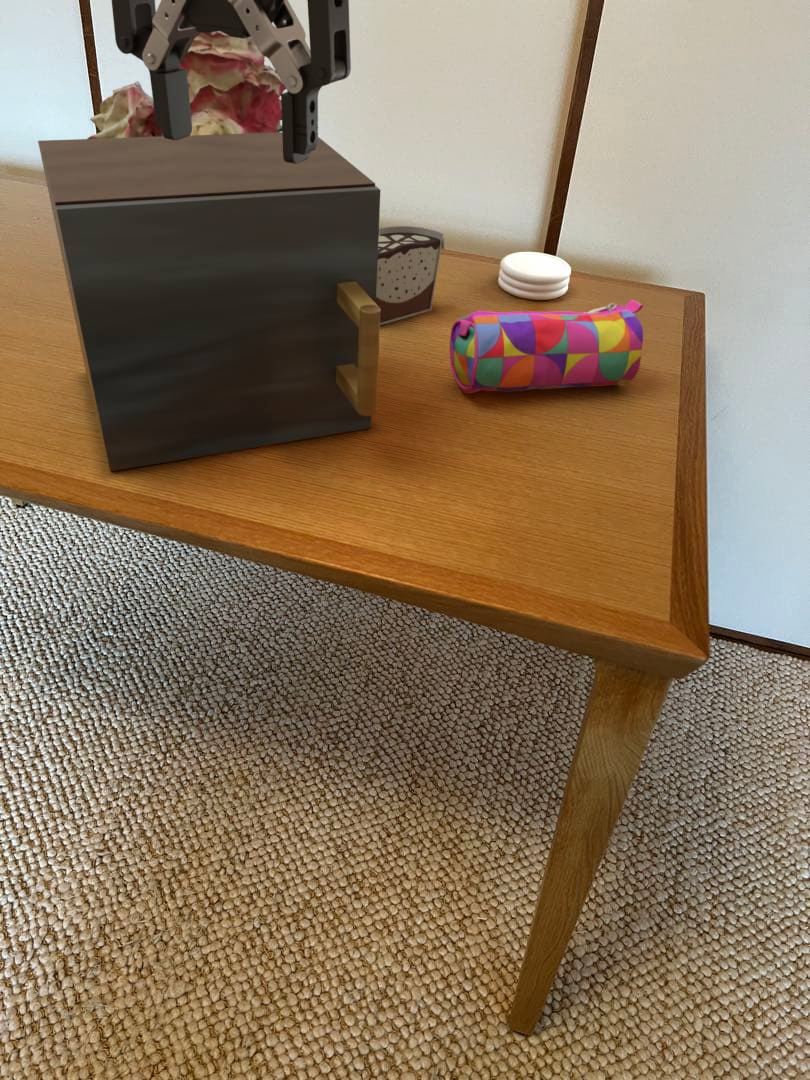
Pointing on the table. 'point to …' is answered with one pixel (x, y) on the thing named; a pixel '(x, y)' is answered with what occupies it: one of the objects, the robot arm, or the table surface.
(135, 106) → the rose bouquet
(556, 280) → the white stacked discs
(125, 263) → the door
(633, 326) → the pencil case
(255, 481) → the table surface
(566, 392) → the table surface
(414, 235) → the food container
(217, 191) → the cupboard
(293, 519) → the table surface
